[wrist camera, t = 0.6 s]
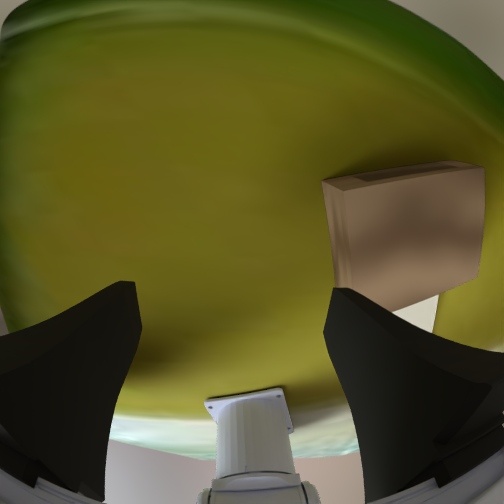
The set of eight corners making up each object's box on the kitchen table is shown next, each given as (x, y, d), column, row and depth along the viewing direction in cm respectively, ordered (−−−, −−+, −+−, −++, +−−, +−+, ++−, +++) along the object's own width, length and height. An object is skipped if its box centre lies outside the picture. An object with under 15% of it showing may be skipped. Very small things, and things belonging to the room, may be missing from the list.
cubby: (450, 258, 21) (477, 277, 17) (336, 294, 21) (354, 324, 17) (451, 159, 17) (484, 167, 14) (321, 180, 18) (343, 191, 14)
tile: (413, 367, 27) (420, 378, 25) (360, 387, 27) (366, 399, 25) (427, 281, 22) (439, 291, 20) (363, 302, 22) (372, 315, 20)
